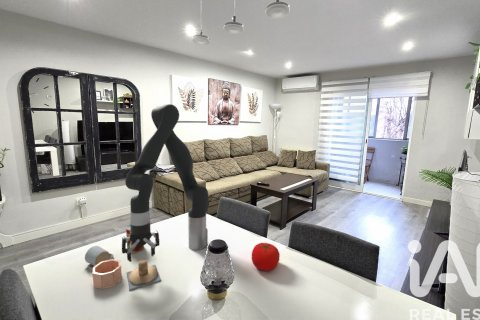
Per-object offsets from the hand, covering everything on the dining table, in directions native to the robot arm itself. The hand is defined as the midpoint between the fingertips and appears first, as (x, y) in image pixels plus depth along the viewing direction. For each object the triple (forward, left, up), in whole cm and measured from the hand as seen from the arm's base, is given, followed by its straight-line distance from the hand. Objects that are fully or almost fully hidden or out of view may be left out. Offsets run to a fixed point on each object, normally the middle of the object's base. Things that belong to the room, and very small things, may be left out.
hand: (141, 258), depth 99 cm
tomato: (-50, +18, -9) cm, 54 cm away
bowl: (+13, -5, -9) cm, 16 cm away
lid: (0, 0, -8) cm, 8 cm away
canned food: (0, -26, -9) cm, 27 cm away
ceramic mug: (+15, -20, -9) cm, 27 cm away
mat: (0, 0, -9) cm, 9 cm away
